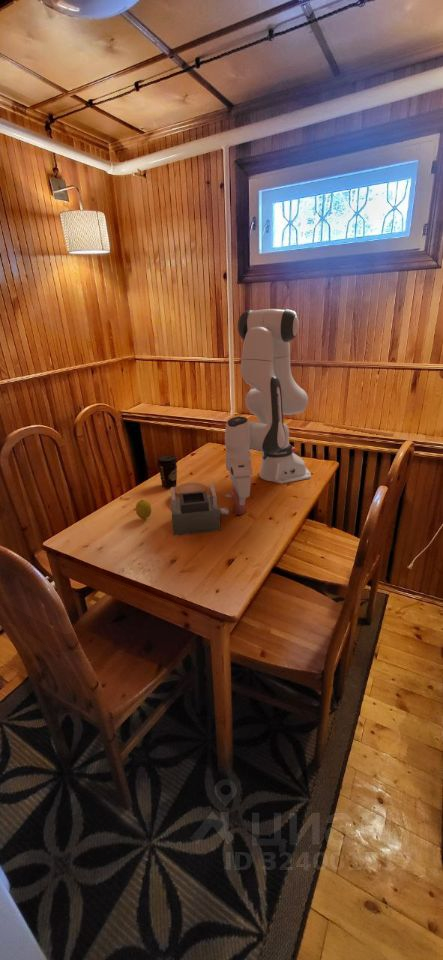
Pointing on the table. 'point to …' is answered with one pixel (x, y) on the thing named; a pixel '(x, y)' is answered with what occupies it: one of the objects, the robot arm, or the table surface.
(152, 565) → the table surface
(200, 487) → the pie
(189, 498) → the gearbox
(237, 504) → the pink cylinder with stub
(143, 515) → the lemon
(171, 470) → the coffee cup
